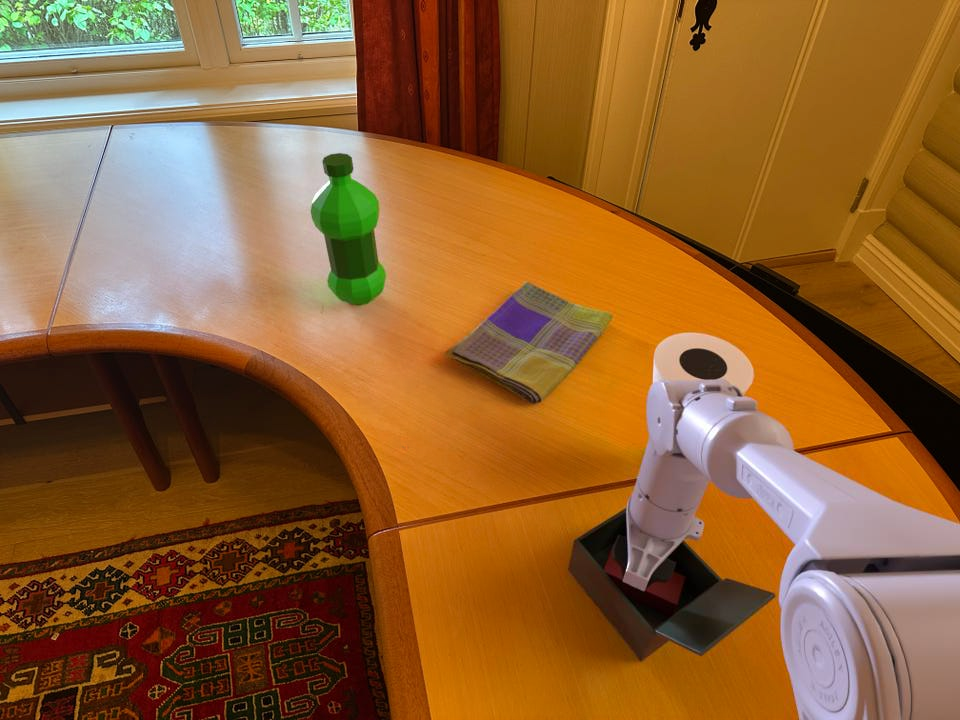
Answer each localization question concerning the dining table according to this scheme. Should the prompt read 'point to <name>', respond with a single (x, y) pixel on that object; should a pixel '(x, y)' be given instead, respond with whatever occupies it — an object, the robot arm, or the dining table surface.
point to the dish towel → (531, 342)
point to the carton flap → (714, 615)
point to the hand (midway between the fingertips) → (642, 561)
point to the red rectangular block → (649, 589)
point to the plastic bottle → (349, 232)
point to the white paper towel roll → (701, 360)
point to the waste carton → (618, 609)
